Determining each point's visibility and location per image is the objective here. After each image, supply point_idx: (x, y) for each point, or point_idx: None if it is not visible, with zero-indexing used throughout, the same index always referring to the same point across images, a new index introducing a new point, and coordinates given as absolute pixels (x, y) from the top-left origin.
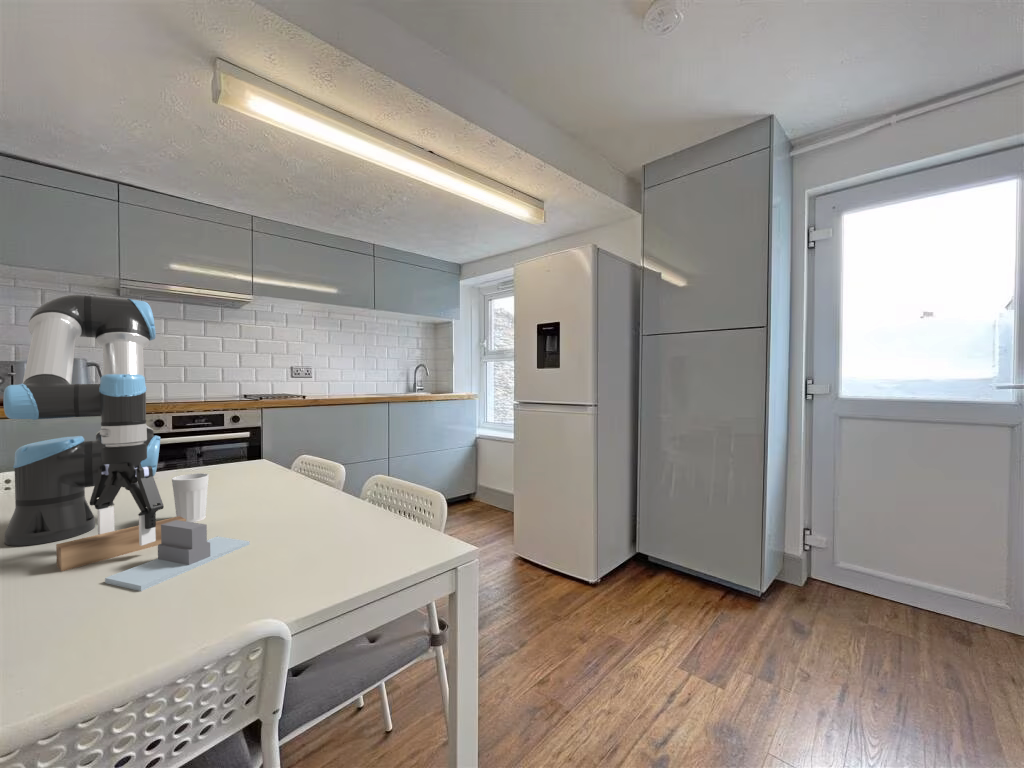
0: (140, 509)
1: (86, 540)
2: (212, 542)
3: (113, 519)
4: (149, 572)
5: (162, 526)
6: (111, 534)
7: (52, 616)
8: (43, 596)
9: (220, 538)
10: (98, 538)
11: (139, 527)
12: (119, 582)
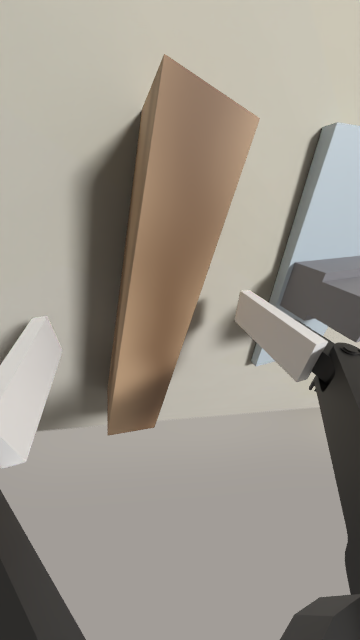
0: (320, 395)
1: (144, 400)
2: (342, 184)
3: (25, 361)
4: None
5: (354, 337)
6: (152, 363)
7: (264, 395)
8: (213, 399)
9: (353, 142)
10: (156, 385)
11: (266, 350)
12: None
